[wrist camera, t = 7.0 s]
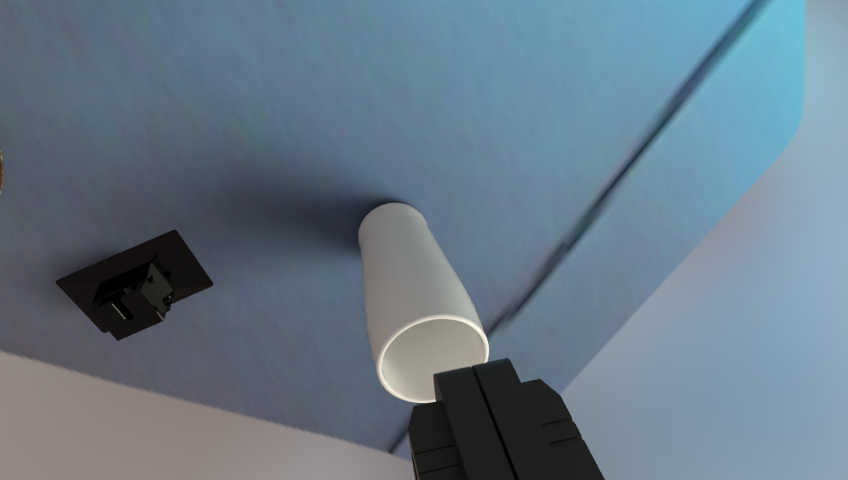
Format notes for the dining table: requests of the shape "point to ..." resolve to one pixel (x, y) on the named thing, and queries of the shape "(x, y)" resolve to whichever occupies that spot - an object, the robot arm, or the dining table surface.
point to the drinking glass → (414, 305)
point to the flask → (1, 171)
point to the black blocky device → (136, 285)
